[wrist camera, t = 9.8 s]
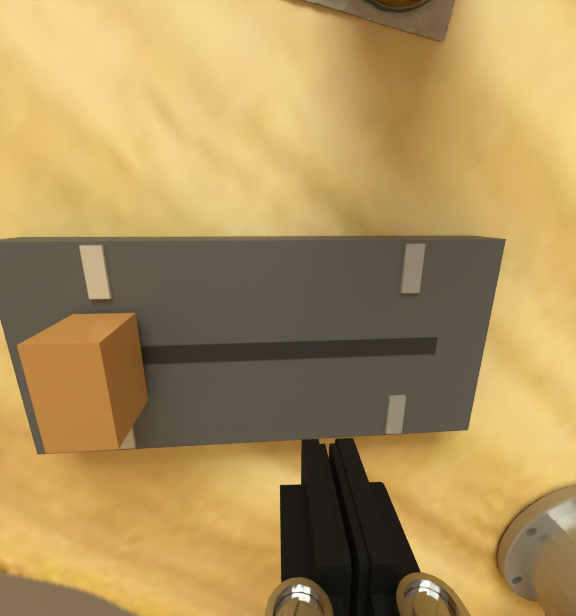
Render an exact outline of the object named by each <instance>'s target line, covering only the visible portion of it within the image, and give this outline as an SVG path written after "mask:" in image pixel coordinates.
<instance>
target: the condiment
mask: <svg viewBox="0 0 576 616" xmlns="http://www.w3.org/2000/svg"><path fill="white" fill-rule="evenodd" d="M305 1H308V2H312V3H318V4H322V5H324V6H327V7H330V8H333V9H336V10H341V11H344V12H346V13H349V14H353V15H356V16H358V17H361V18H364V19H367V20H370V21H373V22H376V23H380V24H383V25H387V26H390V27H393V28H397V29H400V30H403V31H406V32H409V33H414V34H418V35H421V36H423V37H427V38H431V39H435V40H443V41H444V39H445V35H446V31H447V28H448V24H449V20H450V17H451V13H452V8H453V5H454V2H455V0H305Z"/></svg>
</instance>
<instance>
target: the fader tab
mask: <svg viewBox="0 0 576 616" xmlns="http://www.w3.org/2000/svg"><path fill="white" fill-rule="evenodd" d="M17 348H18V352H19V355H20V359H21V363H22V367H23V370H24V374H25V378H26V382H27V385H28V389H29V393H30V397H31V400H32V404H33V408H34V412H35V415H36V419H37V423H38V427H39V430H40V434H41V438H42V442H43V445H44V449H45V453H63V452H81V451H99V450H117V449H119V448H120V447H121V445H122V443H123V442H124V440H125V438H126V437H127V435H128V433H129V431H130V430H131V428H132V426H133V425H134V423H135V421H136V420H137V418H138V416H139V414H140V413H141V411H142V409H143V408H144V406H145V404H146V403H147V401H148V395H147V388H146V381H145V374H144V367H143V360H142V353H141V347H140V340H139V333H138V326H137V319H136V313H106V314H72V315H70V316H69V317H67V318H65V319H63V320H61V321H60V322H58V323H56V324H54V325H52V326H51V327H49V328H47V329H45V330H43V331H42V332H40V333H38V334H36V335H34V336H33V337H31V338H29V339H27V340H25V341H24V342H22V343H20V344H18V345H17Z"/></svg>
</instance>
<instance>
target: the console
mask: <svg viewBox="0 0 576 616" xmlns="http://www.w3.org/2000/svg"><path fill="white" fill-rule="evenodd" d="M505 240H506V239H499V238H490V237H481V236H282V237H17V238H8V239H0V320H1V324H2V327H3V331H4V335H5V338H6V342H7V345H8V349H9V353H10V356H11V360H12V364H13V367H14V371H15V374H16V378H17V382H18V385H19V389H20V393H21V396H22V400H23V403H24V407H25V411H26V414H27V418H28V422H29V425H30V429H31V432H32V436H33V440H34V443H35V447H36V451H37V454H52V453H45V449H44V445H43V442H42V438H41V434H40V430H39V427H38V423H37V419H36V415H35V412H34V408H33V404H32V400H31V397H30V393H29V389H28V385H27V382H26V378H25V374H24V370H23V367H22V363H21V359H20V355H19V352H18V348H17V345H18V344H20V343H22V342H24V341H25V340H27V339H29V338H31V337H33V336H34V335H36V334H38V333H40V332H42V331H43V330H45V329H47V328H49V327H51V326H52V325H54V324H56V323H58V322H60V321H61V320H63V319H65V318H67V317H69V316H70V315H72V314H106V313H136V319H137V326H138V333H139V340H140V347H141V353H142V360H143V367H144V374H145V381H146V388H147V395H148V401H147V403H146V404H145V406H144V408H143V409H142V411H141V413H140V414H139V416H138V418H137V420H136V421H135V423H134V425H133V426H132V428H131V430H130V431H129V433H128V435H127V437H126V438H125V440H124V442H123V443H122V445H121V447H120V448H119V449H117V450H124V449H141V448H159V447H177V446H195V445H213V444H230V443H248V442H266V441H284V440H301V439H319V438H337V437H355V436H373V435H390V434H408V433H426V432H444V431H462V430H468V426H469V421H470V416H471V411H472V406H473V401H474V396H475V391H476V386H477V381H478V376H479V371H480V366H481V361H482V356H483V351H484V346H485V341H486V336H487V331H488V326H489V321H490V316H491V311H492V306H493V301H494V296H495V291H496V286H497V281H498V276H499V270H500V265H501V260H502V255H503V250H504V245H505ZM99 451H106V450H99ZM81 452H88V451H81ZM63 453H70V452H63Z"/></svg>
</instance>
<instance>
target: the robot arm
mask: <svg viewBox="0 0 576 616" xmlns="http://www.w3.org/2000/svg"><path fill="white" fill-rule="evenodd" d="M280 525H281V584H280V585H278V586H277V587H276V588H275V589H274V591H273V592H272V594H271V596H270V597H269V600H268V603H267V607H266V610H265V616H471V615H470V614H469V612H468V610H467V609H466V607H465V606H464V604H463V602H462V601H461V599H460V598H459V597H458V596H457V594H456V593H455V592H454V590H453V589H452V588H450V587H449V586H448V585H447V584H446V583H445V582H444V581H442V580H440V579H438V578H437V577H435V576H433V575H430V574H426V573H423V572H420V569H419V567H418V564H417V562H416V560H415V557H414V555H413V552H412V550H411V548H410V545H409V543H408V540H407V538H406V536H405V533H404V531H403V528H402V526H401V524H400V521H399V519H398V516H397V514H396V511H395V509H394V507H393V504H392V502H391V499H390V497H389V495H388V492H387V490H386V488H385V486H384V484H383V483H382V482H369V481H368V478H367V475H366V473H365V470H364V467H363V464H362V462H361V459H360V456H359V453H358V451H357V448H356V445H355V442H354V440H353V438H342V439H336V440H335V443H332V444H330V445H329V458H328V454H327V449H326V445H325V444H319V440H318V439H305V440H302V450H301V485H280ZM497 559H498V567H499V569H500V572H501V574H502V576H503V577H504V579H505V580H506V582H507V583H508V585H509V586H510V588H511V589H512V590H513V591H514V592H516V593H517V594H518V595H520V596H522V597H524V598H525V599H528V600H531V601H535V602H538V603H539V605H540V606H541V608H542V609H543V610H544V612H545V616H576V486H570V487H567V488H564V489H561V490H558V491H555V492H553V493H551V494H549V495H547V496H545V497H542V498H541V499H539V500H538V501H536V502H535V503H533V504H532V505H530V506H529V507H527V508H526V509H525V510H524V511H523V512H522V513H521V514H519V515H518V516H517V518H516V519H515V520H514V521H513V522H512V523H511V524H510V526H509V527H508V529H507V530H506V532H505V534H504V535H503V537H502V540H501V543H500V545H499V550H498V557H497Z"/></svg>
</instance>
